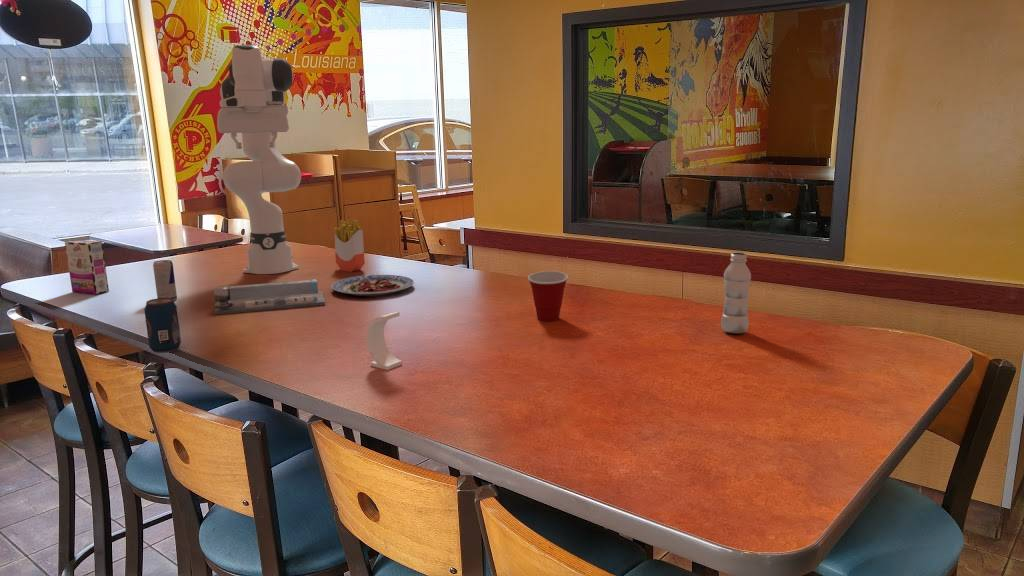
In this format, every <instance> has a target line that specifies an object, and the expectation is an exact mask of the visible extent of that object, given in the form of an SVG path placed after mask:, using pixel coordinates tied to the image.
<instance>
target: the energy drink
mask: <svg viewBox="0 0 1024 576" xmlns="http://www.w3.org/2000/svg"><path fill="white" fill-rule="evenodd" d="M172 261H173V260H171V259H161V260H156V261H153V264H152V267H153V268H152V269H153V273H154V283H155V291H156V299H158V298H172V299H173V302H175V301H176V300H177V299H178V294H177V287H176V280H175V278H176V277H175V272H174V271H175V270H174V263H173V262H172Z"/></svg>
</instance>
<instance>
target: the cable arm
mask: <svg viewBox="0 0 1024 576" xmlns="http://www.w3.org/2000/svg"><path fill="white" fill-rule="evenodd" d="M318 287H319V286H318V279H305V280H295V281H294V280H293V281H282V282H281V281H280V282H279V281H278V282H269V283H268V282H267V283H256V284H243V285H232V286H231V285H229V286H228V285H222V286H217V287H214V288H213V293H214V300H215V302H216V303H217V302H223V301H229V300H241V299H253V298H265V297H277V296H289V295H301V294H316V293H318V291H319V289H318Z"/></svg>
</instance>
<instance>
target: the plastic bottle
mask: <svg viewBox="0 0 1024 576" xmlns="http://www.w3.org/2000/svg"><path fill="white" fill-rule="evenodd" d="M747 255H748V254H747V253H746V252H739V251H738V252H731V253H730V259H729V261H730V263H729V264H728V265H727V267H726V268H725V270H724V272H723V285H724V302H723V304H724V305H723V311H722V315H721V320H720V324H721V329H722V330H723V331H724V332H726V333H728V334H736V335H737V334H743V333H746V332H747V330H748V327H749V324H750V321H749V316H748V296H749V288H750V284H751V279H752V273H751V270H750V269H749V267H748V266H747V264H746V263H747V262H748V259H747V258H748V257H747Z"/></svg>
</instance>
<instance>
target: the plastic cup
mask: <svg viewBox="0 0 1024 576" xmlns="http://www.w3.org/2000/svg"><path fill="white" fill-rule="evenodd" d="M568 278H569V274H567V273H565V272H562V271H556V270H545V271H544V270H543V271H537V272H533V273H530V274H529V275H528V277H527V279H528V281H529V284H530V287H531V290H532V296H533V302H534V307H535V314H536V316H537V319H538V320H539V321H543V322H554V321H557V320H559V319H560V315H561V309H562V303H563V298H564V292H565V288H566V284H567V280H568Z"/></svg>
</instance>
